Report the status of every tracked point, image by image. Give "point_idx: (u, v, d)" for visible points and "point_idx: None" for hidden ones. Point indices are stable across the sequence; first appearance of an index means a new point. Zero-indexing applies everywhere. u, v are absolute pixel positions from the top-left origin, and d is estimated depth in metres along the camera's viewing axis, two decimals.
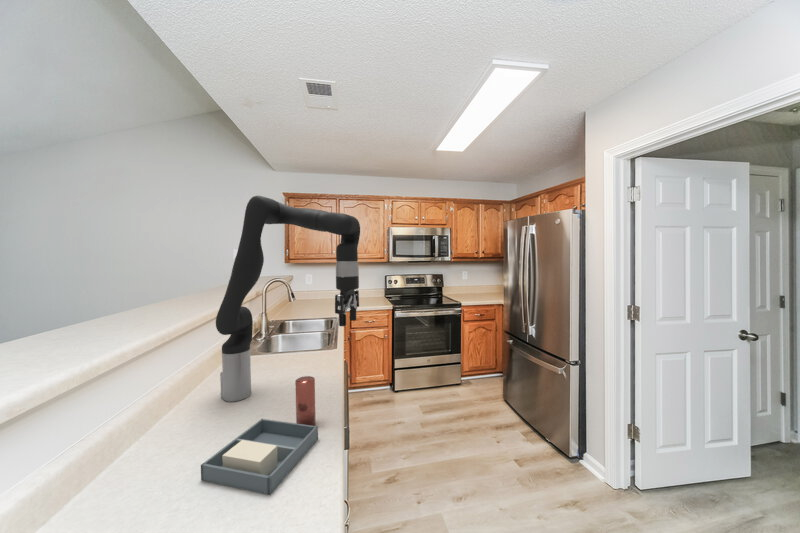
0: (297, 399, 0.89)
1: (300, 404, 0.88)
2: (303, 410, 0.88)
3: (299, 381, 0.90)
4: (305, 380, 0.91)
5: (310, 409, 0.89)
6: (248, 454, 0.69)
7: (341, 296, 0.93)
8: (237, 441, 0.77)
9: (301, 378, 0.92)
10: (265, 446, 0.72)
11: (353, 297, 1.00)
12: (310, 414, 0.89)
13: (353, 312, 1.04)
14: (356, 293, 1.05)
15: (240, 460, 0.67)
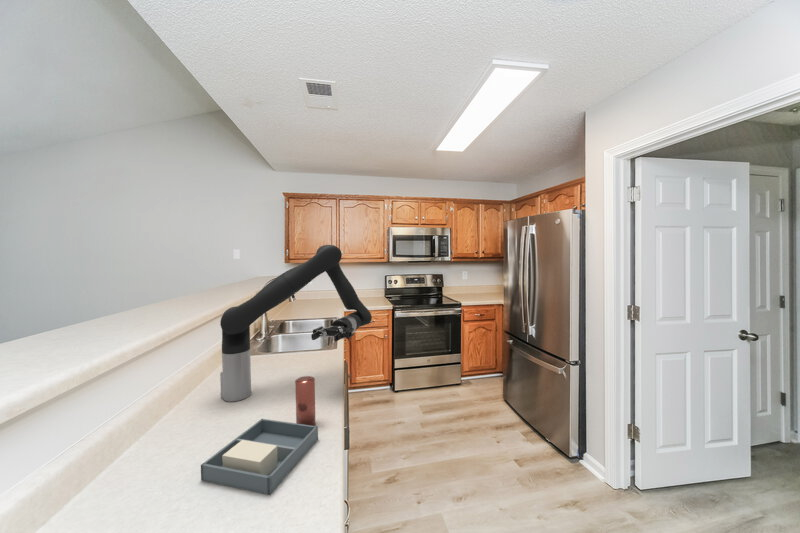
0: (297, 399, 0.89)
1: (300, 404, 0.88)
2: (303, 410, 0.88)
3: (299, 381, 0.90)
4: (305, 380, 0.91)
5: (310, 409, 0.89)
6: (248, 454, 0.69)
7: (353, 334, 1.10)
8: (237, 441, 0.77)
9: (301, 378, 0.92)
10: (265, 446, 0.72)
11: (333, 336, 1.11)
12: (310, 414, 0.89)
13: (317, 336, 1.06)
14: None
15: (240, 460, 0.67)
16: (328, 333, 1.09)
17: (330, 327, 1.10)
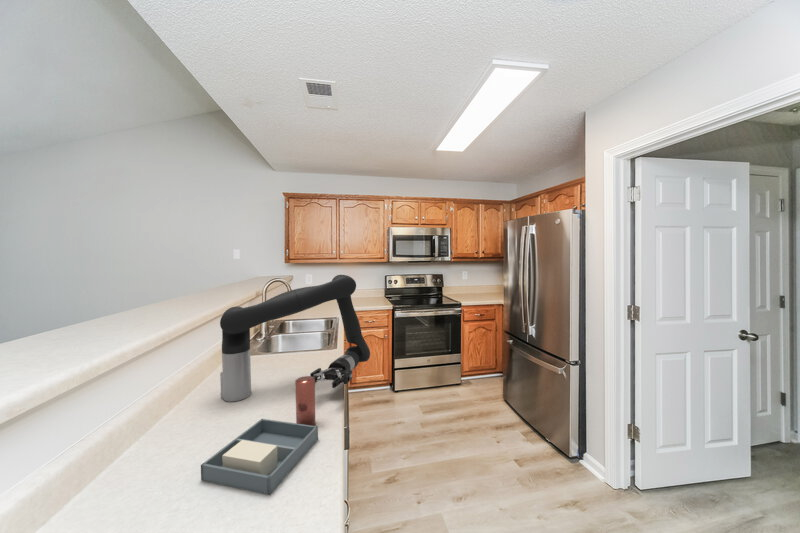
0: (297, 399, 0.89)
1: (300, 404, 0.88)
2: (303, 410, 0.88)
3: (299, 381, 0.90)
4: (305, 380, 0.91)
5: (310, 409, 0.89)
6: (248, 454, 0.69)
7: (351, 377, 1.09)
8: (237, 441, 0.77)
9: (301, 378, 0.92)
10: (265, 446, 0.72)
11: None
12: (310, 414, 0.89)
13: (315, 380, 1.05)
14: (320, 374, 1.11)
15: (240, 460, 0.67)
16: (326, 377, 1.07)
17: (328, 370, 1.09)
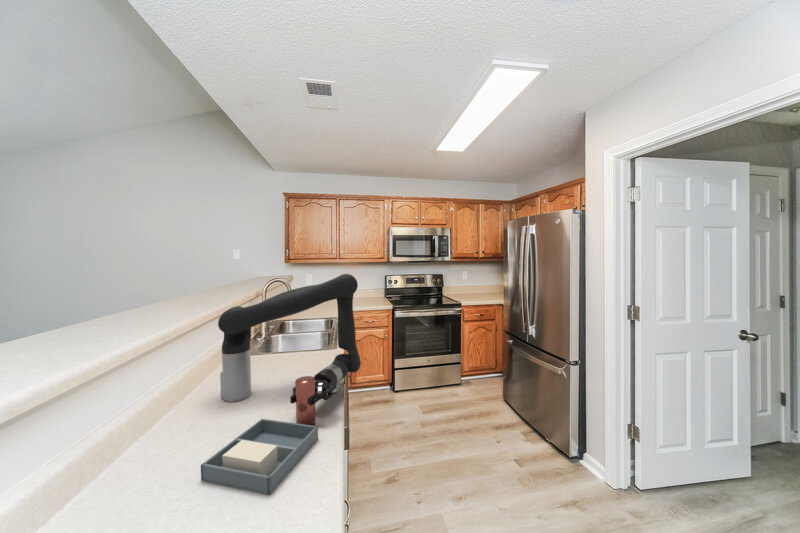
0: (297, 399, 0.89)
1: (300, 404, 0.88)
2: (303, 410, 0.88)
3: (299, 381, 0.90)
4: (305, 380, 0.91)
5: (311, 409, 0.89)
6: (248, 454, 0.69)
7: (336, 392, 0.96)
8: (237, 441, 0.77)
9: (301, 378, 0.92)
10: (265, 446, 0.72)
11: None
12: (310, 414, 0.89)
13: None
14: None
15: (240, 460, 0.67)
16: None
17: None
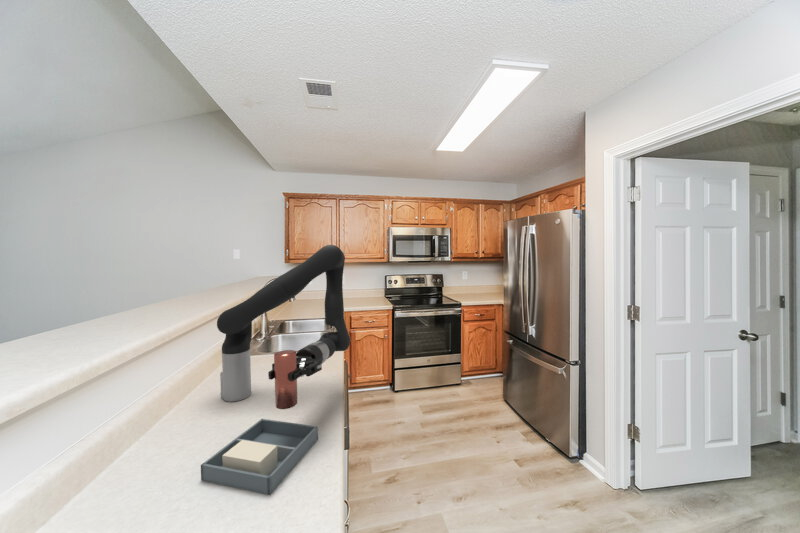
0: (276, 374, 0.79)
1: (280, 379, 0.79)
2: (282, 387, 0.79)
3: (279, 354, 0.80)
4: (285, 353, 0.81)
5: (291, 386, 0.80)
6: (248, 454, 0.69)
7: (321, 368, 0.87)
8: (237, 441, 0.77)
9: (281, 352, 0.82)
10: (265, 446, 0.72)
11: None
12: (291, 391, 0.80)
13: None
14: None
15: (240, 460, 0.67)
16: None
17: None
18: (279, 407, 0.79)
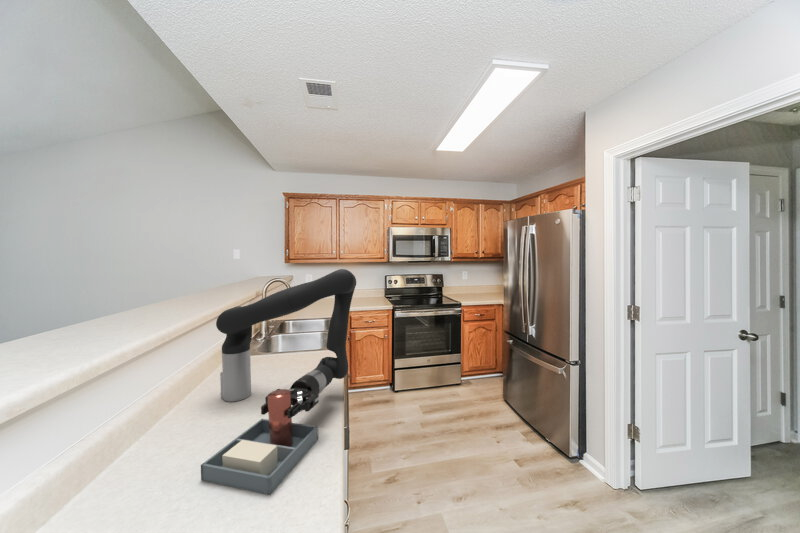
0: (270, 417, 0.77)
1: (273, 422, 0.77)
2: (276, 429, 0.77)
3: (272, 396, 0.78)
4: (279, 394, 0.79)
5: (286, 428, 0.78)
6: (248, 454, 0.69)
7: (318, 401, 0.85)
8: (237, 441, 0.77)
9: (275, 392, 0.80)
10: (265, 446, 0.72)
11: None
12: (285, 433, 0.78)
13: None
14: None
15: (240, 460, 0.67)
16: None
17: None
18: None
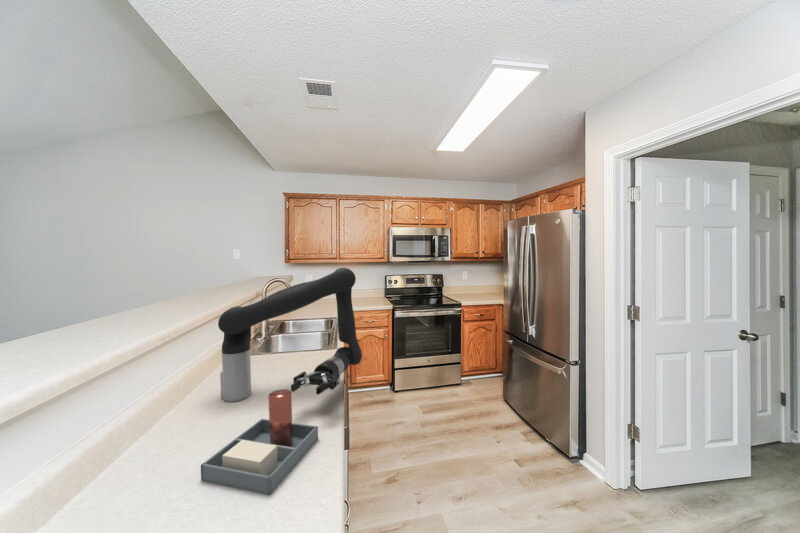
0: (270, 416, 0.77)
1: (274, 422, 0.77)
2: (277, 429, 0.77)
3: (273, 395, 0.78)
4: (280, 394, 0.79)
5: (286, 428, 0.78)
6: (248, 454, 0.69)
7: (339, 381, 0.99)
8: (237, 441, 0.77)
9: (276, 392, 0.80)
10: (265, 446, 0.72)
11: None
12: (286, 433, 0.78)
13: (298, 385, 0.95)
14: None
15: (240, 460, 0.67)
16: (311, 381, 0.97)
17: (313, 374, 0.99)
18: None
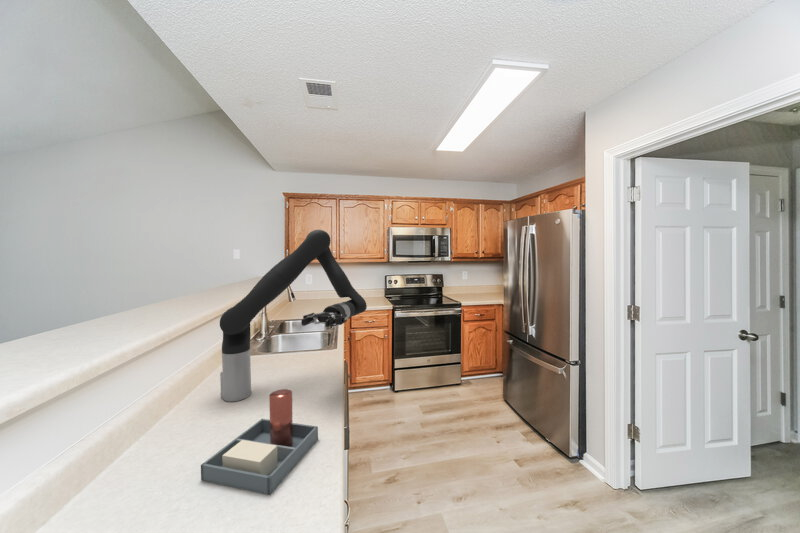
0: (271, 416, 0.77)
1: (275, 422, 0.77)
2: (277, 429, 0.77)
3: (274, 395, 0.78)
4: (281, 394, 0.79)
5: (287, 428, 0.78)
6: (248, 454, 0.69)
7: (346, 320, 1.04)
8: (237, 441, 0.77)
9: (277, 392, 0.80)
10: (265, 446, 0.72)
11: (325, 322, 1.05)
12: (286, 433, 0.78)
13: (308, 321, 1.00)
14: None
15: (240, 460, 0.67)
16: (319, 319, 1.03)
17: (322, 313, 1.04)
18: None
